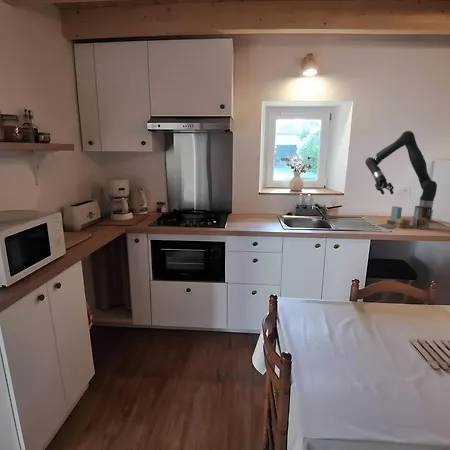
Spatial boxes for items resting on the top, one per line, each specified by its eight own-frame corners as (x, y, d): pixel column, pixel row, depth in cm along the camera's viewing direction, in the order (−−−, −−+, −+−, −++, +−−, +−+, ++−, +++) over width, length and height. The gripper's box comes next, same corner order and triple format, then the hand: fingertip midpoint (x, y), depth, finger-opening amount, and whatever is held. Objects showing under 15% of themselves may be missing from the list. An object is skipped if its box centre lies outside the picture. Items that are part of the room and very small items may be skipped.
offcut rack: (396, 223, 255) (397, 215, 254) (409, 227, 243) (411, 219, 241) (385, 223, 252) (386, 216, 251) (398, 228, 240) (400, 220, 238)
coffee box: (424, 227, 244) (427, 205, 240) (428, 229, 237) (432, 207, 233) (411, 226, 244) (414, 205, 241) (415, 228, 238) (418, 207, 234)
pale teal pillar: (393, 223, 253) (395, 206, 250) (399, 225, 248) (402, 207, 244) (389, 224, 252) (392, 206, 249) (395, 225, 247) (398, 207, 244)
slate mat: (386, 225, 249) (386, 224, 249) (396, 228, 240) (396, 227, 240) (377, 225, 247) (377, 224, 247) (387, 228, 238) (387, 227, 238)
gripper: (374, 174, 258) (383, 191, 250) (389, 174, 261) (398, 190, 253) (369, 180, 264) (377, 197, 256) (383, 180, 268) (392, 196, 260)
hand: (388, 193), depth 255 cm, fingers open, 8 cm apart
